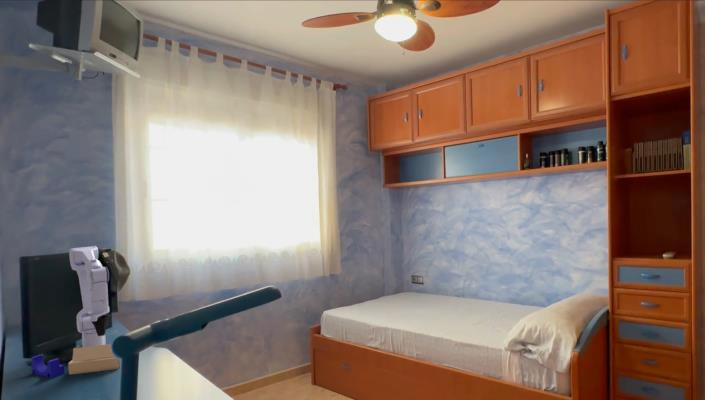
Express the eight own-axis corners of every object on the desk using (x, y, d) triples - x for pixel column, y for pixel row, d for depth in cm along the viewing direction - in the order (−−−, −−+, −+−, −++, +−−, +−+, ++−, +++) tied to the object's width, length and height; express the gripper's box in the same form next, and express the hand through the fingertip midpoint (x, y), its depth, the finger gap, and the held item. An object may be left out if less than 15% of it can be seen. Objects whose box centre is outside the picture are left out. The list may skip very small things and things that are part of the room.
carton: (84, 360, 167) (83, 350, 167) (130, 354, 171) (130, 344, 171) (68, 374, 153) (67, 363, 153) (119, 368, 157) (119, 357, 157)
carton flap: (74, 348, 155) (73, 348, 155) (115, 343, 158) (115, 343, 158) (72, 361, 154) (72, 361, 153) (114, 356, 157) (114, 356, 156)
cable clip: (64, 373, 155) (63, 357, 155) (51, 378, 151) (49, 361, 151) (45, 369, 160) (44, 353, 160) (32, 374, 156) (31, 357, 156)
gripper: (94, 296, 170) (96, 331, 170) (80, 305, 155) (82, 342, 156) (114, 295, 171) (116, 328, 171) (101, 303, 157) (103, 340, 157)
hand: (101, 335), depth 164 cm, fingers closed
